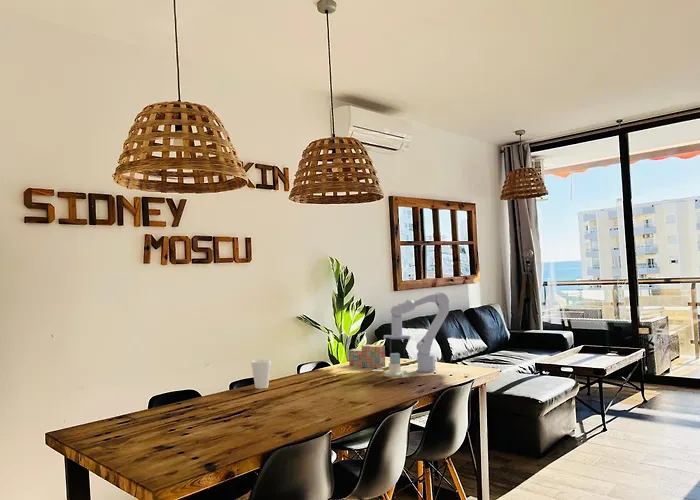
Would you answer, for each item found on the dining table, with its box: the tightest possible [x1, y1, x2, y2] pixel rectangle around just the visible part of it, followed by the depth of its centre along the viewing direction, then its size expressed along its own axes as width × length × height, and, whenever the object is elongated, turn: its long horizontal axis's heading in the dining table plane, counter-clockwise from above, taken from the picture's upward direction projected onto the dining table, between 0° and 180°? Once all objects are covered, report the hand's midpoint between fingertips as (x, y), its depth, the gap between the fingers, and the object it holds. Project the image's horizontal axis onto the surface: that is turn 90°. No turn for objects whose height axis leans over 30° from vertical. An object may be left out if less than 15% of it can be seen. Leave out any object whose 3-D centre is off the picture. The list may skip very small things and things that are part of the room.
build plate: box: [383, 370, 408, 378], centre depth 282 cm, size 10×10×1 cm
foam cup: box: [250, 358, 272, 390], centre depth 263 cm, size 10×9×13 cm
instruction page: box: [371, 368, 384, 372], centre depth 295 cm, size 6×4×1 cm, turn 71°
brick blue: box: [389, 352, 401, 365], centre depth 282 cm, size 4×4×5 cm
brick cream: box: [388, 362, 402, 374], centre depth 282 cm, size 4×4×5 cm
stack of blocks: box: [348, 344, 386, 369], centre depth 311 cm, size 21×6×12 cm, turn 57°
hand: (397, 352), depth 290 cm, fingers open, 7 cm apart
